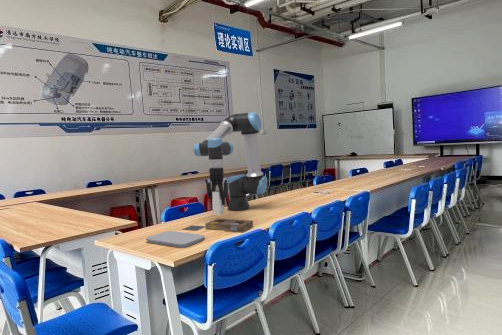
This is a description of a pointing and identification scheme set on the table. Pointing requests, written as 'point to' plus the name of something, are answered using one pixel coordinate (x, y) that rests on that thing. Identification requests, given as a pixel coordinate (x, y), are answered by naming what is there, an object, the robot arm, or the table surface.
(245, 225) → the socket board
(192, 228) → the mat
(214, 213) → the grey upright block
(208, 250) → the table surface
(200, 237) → the tablet
